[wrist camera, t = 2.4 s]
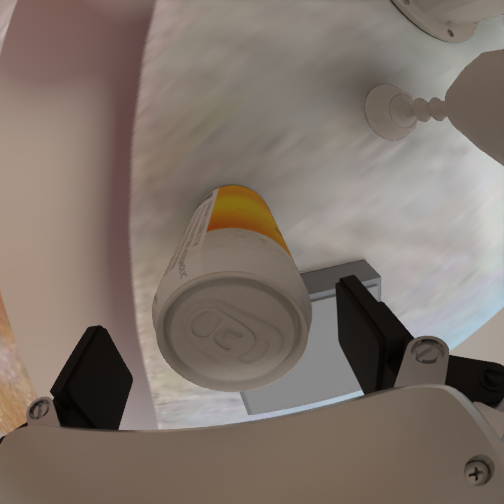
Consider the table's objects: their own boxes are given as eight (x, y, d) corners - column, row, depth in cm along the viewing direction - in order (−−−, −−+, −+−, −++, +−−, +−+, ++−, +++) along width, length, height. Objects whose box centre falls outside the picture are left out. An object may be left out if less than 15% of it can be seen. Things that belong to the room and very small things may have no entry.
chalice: (432, 129, 21) (603, 162, 4) (384, 167, 22) (568, 239, 6) (392, 61, 19) (564, 21, 2) (337, 94, 20) (528, 50, 3)
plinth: (214, 291, 26) (212, 317, 22) (364, 259, 26) (383, 279, 22) (246, 391, 31) (248, 417, 27) (362, 364, 31) (374, 388, 27)
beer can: (239, 268, 25) (247, 414, 11) (180, 227, 23) (119, 350, 10) (285, 214, 24) (353, 324, 10) (225, 168, 22) (209, 221, 8)
